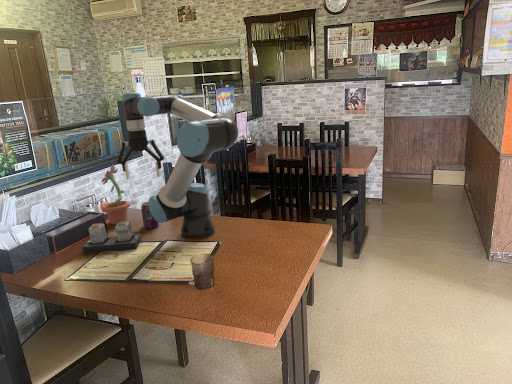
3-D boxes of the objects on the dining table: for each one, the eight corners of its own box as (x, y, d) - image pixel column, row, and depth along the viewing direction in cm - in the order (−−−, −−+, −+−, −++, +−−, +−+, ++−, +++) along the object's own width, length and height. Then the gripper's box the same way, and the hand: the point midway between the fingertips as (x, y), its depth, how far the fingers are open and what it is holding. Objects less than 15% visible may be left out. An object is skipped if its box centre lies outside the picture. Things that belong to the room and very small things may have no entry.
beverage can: (162, 225, 192) (158, 201, 189) (151, 230, 186) (147, 206, 183) (151, 223, 196) (148, 200, 192) (141, 228, 190) (137, 204, 187)
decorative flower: (113, 217, 210) (103, 162, 202) (137, 216, 208) (128, 161, 200) (99, 227, 195) (88, 168, 187) (125, 226, 194) (115, 167, 186)
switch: (141, 240, 174) (138, 217, 172) (136, 249, 165) (132, 225, 162) (91, 244, 174) (87, 221, 171) (83, 253, 164) (78, 230, 161)
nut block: (133, 242, 172) (130, 220, 169) (131, 247, 167) (127, 224, 164) (122, 243, 172) (118, 221, 169) (118, 248, 167) (114, 225, 164)
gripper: (166, 126, 174) (172, 173, 179) (110, 130, 173) (117, 177, 178) (164, 128, 166) (170, 176, 172) (104, 132, 165) (113, 181, 171)
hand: (143, 177), depth 175 cm, fingers open, 13 cm apart
